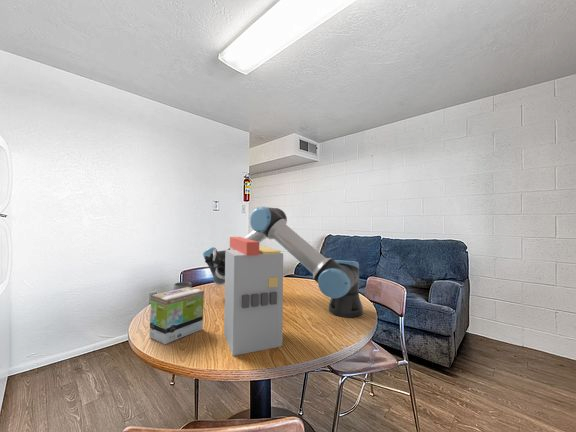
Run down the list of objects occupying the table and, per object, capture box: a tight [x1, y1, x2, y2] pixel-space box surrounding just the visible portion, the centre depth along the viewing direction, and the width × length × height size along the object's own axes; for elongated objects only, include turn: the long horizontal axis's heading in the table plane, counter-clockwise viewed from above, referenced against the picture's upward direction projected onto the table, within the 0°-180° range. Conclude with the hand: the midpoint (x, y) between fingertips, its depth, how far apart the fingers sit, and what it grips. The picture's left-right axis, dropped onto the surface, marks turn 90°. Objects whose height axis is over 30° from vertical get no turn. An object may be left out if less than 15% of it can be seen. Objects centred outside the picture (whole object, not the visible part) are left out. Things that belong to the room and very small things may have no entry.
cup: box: [173, 281, 193, 290], centre depth 123 cm, size 10×9×10 cm
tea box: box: [148, 287, 205, 345], centre depth 92 cm, size 15×10×15 cm, turn 148°
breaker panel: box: [223, 249, 284, 357], centre depth 87 cm, size 17×16×30 cm
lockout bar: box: [229, 236, 260, 256], centre depth 92 cm, size 28×4×4 cm, turn 23°
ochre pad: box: [259, 246, 282, 254], centre depth 90 cm, size 16×6×1 cm, turn 23°
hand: (231, 251), depth 108 cm, fingers open, 13 cm apart
